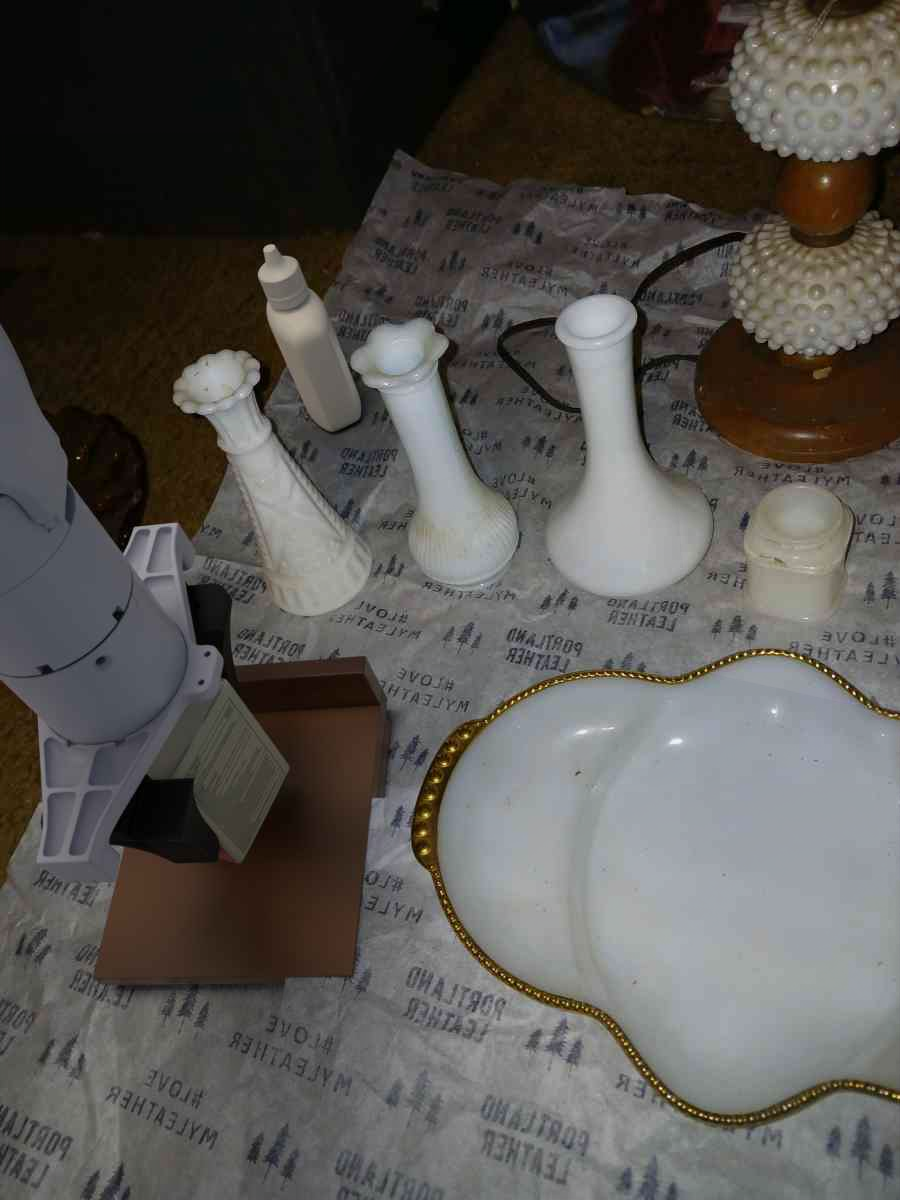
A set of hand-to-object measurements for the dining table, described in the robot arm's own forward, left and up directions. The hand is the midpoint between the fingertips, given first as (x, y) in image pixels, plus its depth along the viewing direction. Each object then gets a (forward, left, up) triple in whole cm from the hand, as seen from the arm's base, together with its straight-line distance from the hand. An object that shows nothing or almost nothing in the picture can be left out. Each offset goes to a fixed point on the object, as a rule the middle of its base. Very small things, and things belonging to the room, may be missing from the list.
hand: (211, 785), depth 47 cm
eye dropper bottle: (+30, 0, -6) cm, 31 cm away
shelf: (0, 0, -6) cm, 6 cm away
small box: (0, 0, -2) cm, 2 cm away
